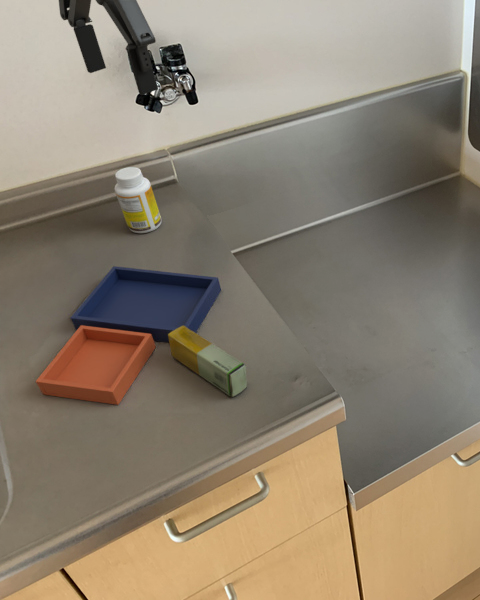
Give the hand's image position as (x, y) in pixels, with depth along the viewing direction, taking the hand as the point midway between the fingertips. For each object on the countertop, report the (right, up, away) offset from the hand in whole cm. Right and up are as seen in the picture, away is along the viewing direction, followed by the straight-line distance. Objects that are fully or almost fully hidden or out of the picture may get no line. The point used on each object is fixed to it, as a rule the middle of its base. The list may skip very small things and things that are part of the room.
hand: (122, 80), depth 93 cm
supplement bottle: (-1, -21, +12) cm, 24 cm away
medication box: (+18, -43, -13) cm, 48 cm away
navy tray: (+6, -35, -4) cm, 36 cm away
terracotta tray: (+3, -43, -13) cm, 45 cm away
